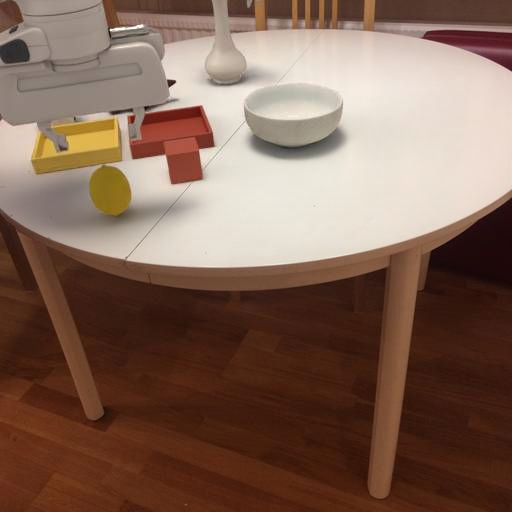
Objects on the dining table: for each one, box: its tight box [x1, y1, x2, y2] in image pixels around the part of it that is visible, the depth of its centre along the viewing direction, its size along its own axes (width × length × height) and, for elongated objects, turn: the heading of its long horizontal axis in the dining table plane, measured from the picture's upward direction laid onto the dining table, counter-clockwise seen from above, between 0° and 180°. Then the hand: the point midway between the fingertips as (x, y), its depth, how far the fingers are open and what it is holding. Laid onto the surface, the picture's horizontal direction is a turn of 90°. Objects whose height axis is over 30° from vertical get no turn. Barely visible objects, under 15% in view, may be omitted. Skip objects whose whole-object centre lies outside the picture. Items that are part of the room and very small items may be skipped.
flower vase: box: [204, 0, 261, 85], centre depth 110 cm, size 13×18×25 cm
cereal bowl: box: [243, 82, 344, 148], centre depth 90 cm, size 17×17×7 cm
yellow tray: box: [30, 116, 123, 175], centre depth 92 cm, size 14×13×3 cm
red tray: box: [126, 104, 216, 160], centre depth 95 cm, size 14×13×3 cm
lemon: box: [88, 164, 132, 217], centre depth 73 cm, size 6×6×8 cm
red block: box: [164, 137, 204, 185], centre depth 82 cm, size 5×5×5 cm
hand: (100, 144), depth 69 cm, fingers open, 8 cm apart
